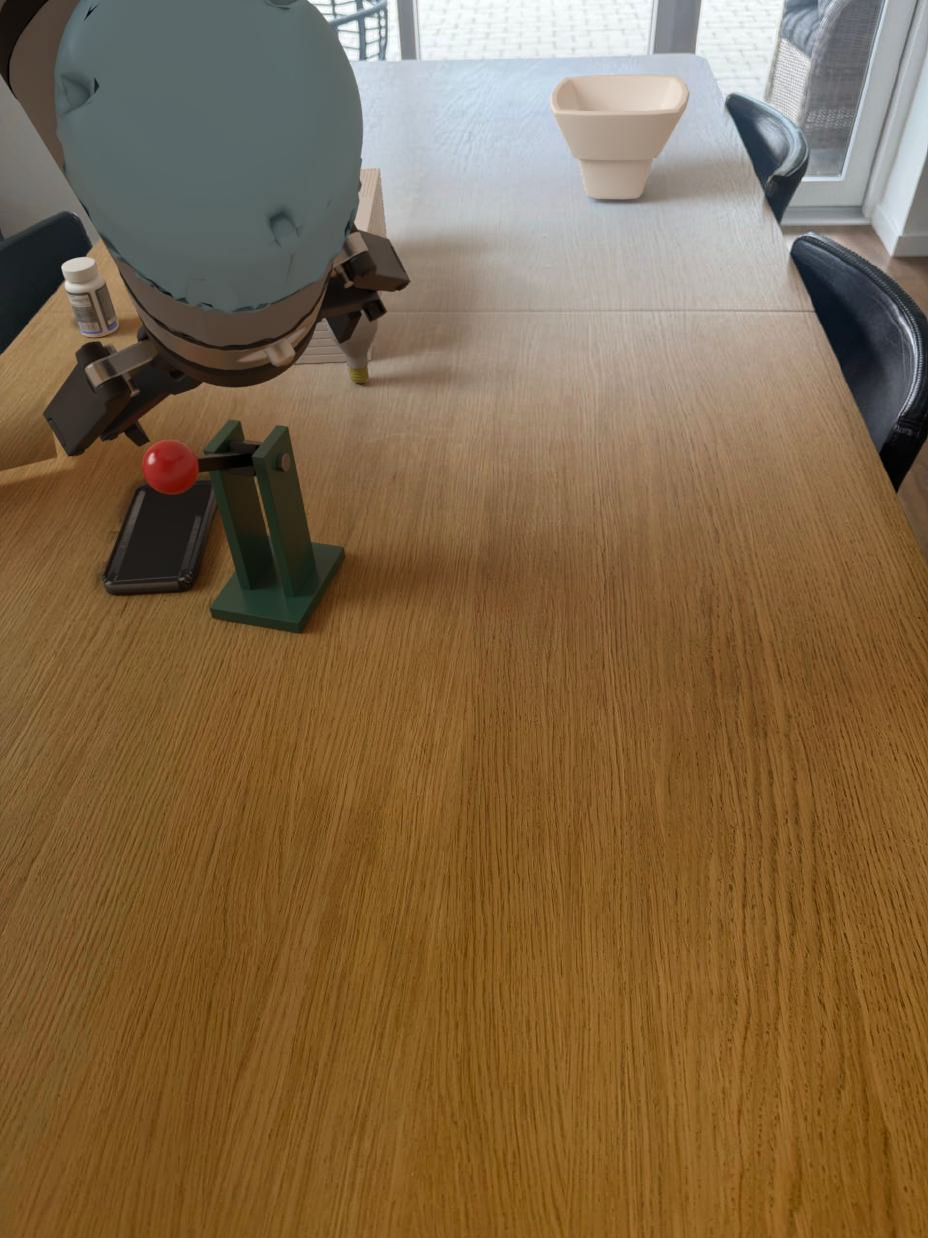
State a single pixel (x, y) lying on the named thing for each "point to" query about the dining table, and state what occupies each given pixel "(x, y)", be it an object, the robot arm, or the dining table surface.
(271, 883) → the dining table surface
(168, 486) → the switch lever
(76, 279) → the pill bottle
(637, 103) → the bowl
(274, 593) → the switch bracket
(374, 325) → the light bulb
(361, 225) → the beige tall block
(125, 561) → the phone
